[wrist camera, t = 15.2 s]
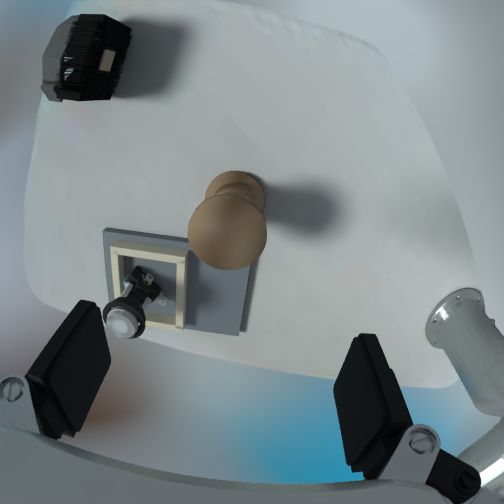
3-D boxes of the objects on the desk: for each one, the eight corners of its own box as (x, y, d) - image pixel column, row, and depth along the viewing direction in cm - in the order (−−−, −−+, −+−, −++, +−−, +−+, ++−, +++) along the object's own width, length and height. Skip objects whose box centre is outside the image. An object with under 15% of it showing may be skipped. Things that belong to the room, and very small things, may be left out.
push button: (178, 287, 42) (160, 336, 33) (156, 308, 43) (136, 356, 34) (141, 256, 40) (112, 299, 31) (121, 279, 41) (92, 323, 32)
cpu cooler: (100, 23, 27) (57, 6, 18) (139, 26, 28) (102, 5, 19) (78, 98, 31) (30, 102, 22) (115, 104, 32) (72, 108, 23)
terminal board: (252, 247, 40) (252, 259, 37) (239, 330, 46) (238, 345, 43) (106, 227, 39) (96, 237, 36) (113, 310, 45) (106, 322, 42)
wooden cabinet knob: (268, 175, 36) (273, 203, 26) (259, 229, 39) (260, 274, 29) (209, 167, 36) (190, 192, 26) (203, 222, 39) (185, 264, 29)
